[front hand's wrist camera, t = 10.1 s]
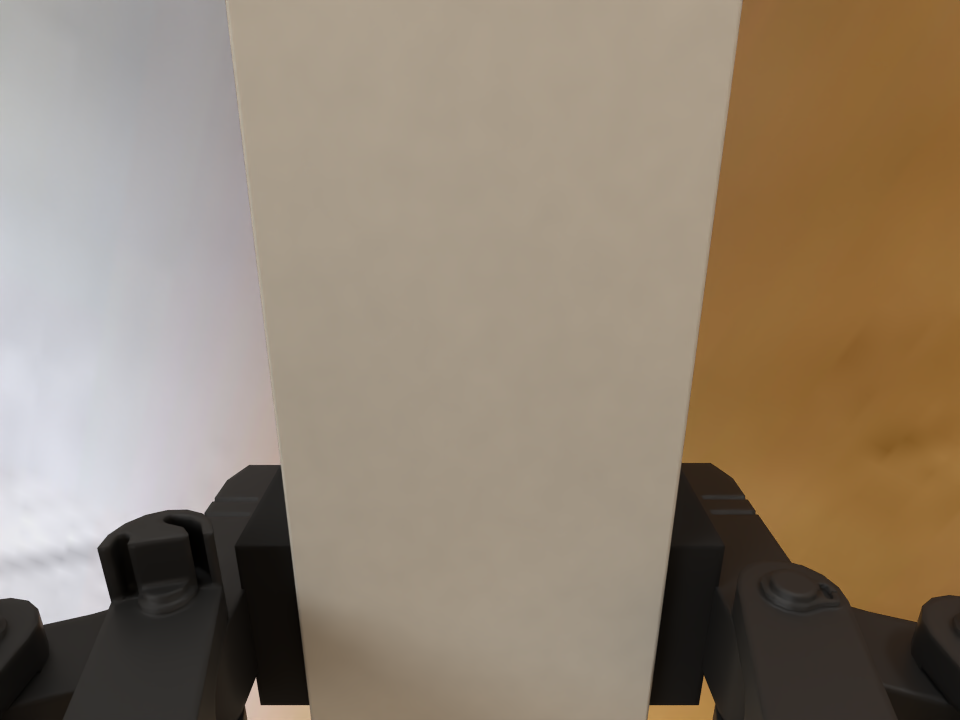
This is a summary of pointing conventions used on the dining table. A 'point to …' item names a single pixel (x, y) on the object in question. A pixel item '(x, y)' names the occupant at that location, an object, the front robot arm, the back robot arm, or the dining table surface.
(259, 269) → the bar
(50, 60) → the dining table surface
